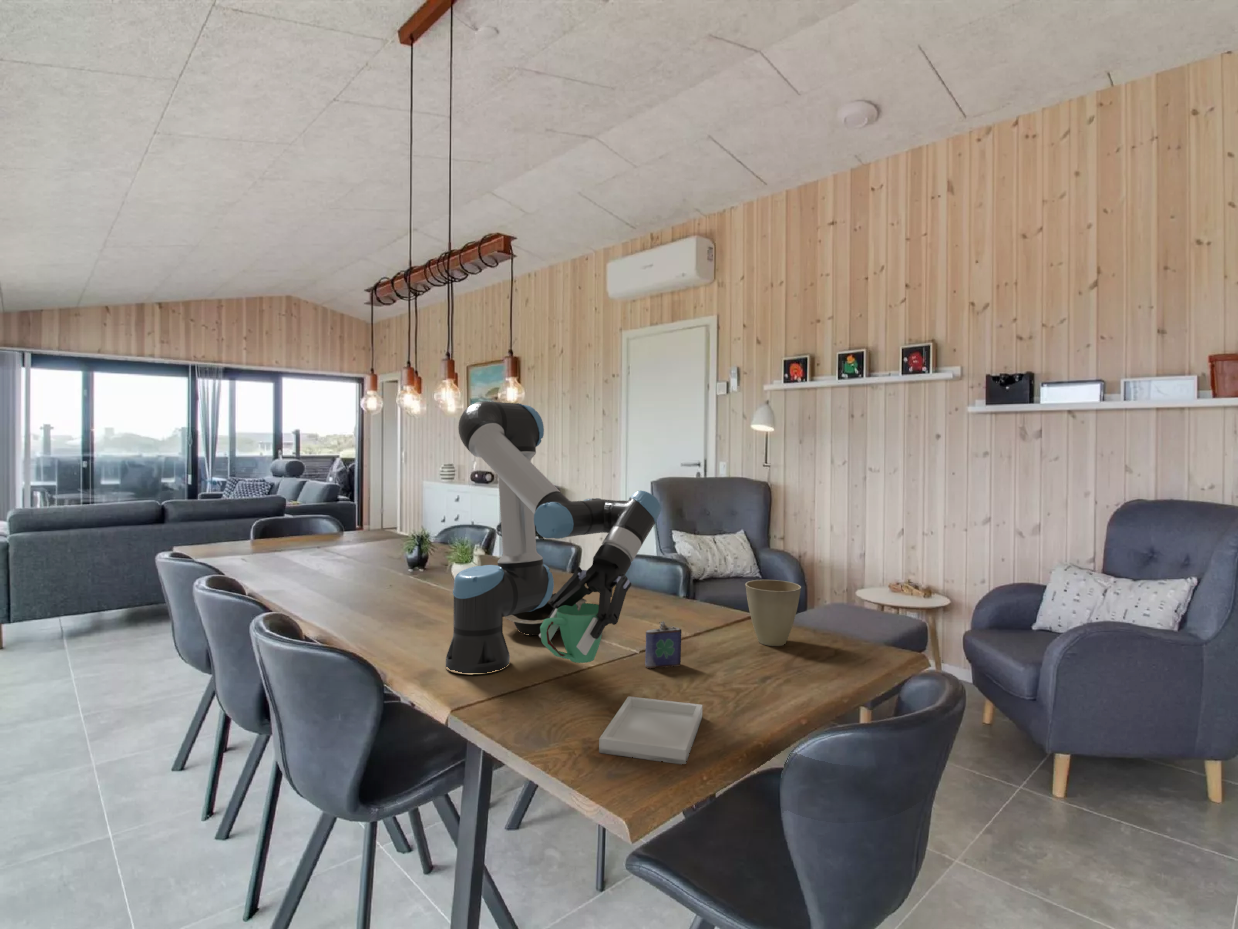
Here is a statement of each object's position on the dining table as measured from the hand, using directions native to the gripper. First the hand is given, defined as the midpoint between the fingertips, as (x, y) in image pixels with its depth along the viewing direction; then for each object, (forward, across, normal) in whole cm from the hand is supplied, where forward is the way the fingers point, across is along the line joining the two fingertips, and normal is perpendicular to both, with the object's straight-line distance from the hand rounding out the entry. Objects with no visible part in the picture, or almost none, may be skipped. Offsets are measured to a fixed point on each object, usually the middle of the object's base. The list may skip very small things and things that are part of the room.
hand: (561, 645), depth 122 cm
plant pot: (-43, -6, -64) cm, 77 cm away
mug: (+1, 0, -5) cm, 5 cm away
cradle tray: (+5, -17, -16) cm, 23 cm away
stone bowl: (-18, +49, -40) cm, 65 cm away
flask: (-17, +5, -38) cm, 42 cm away
